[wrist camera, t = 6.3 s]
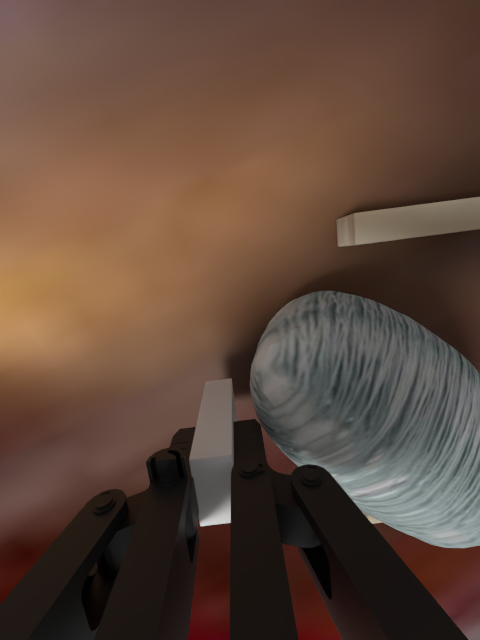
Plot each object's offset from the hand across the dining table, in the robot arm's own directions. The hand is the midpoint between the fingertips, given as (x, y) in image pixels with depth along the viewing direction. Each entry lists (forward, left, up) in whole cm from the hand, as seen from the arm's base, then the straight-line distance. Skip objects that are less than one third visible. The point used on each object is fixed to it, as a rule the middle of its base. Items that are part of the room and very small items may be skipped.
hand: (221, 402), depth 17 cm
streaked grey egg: (+1, +8, -2) cm, 8 cm away
